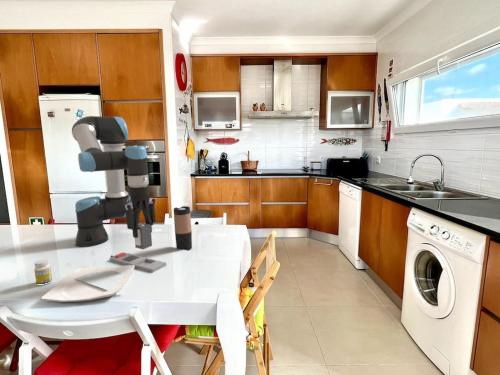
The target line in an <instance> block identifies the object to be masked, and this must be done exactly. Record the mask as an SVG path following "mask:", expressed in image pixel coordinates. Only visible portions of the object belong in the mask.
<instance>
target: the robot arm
mask: <svg viewBox="0 0 500 375" xmlns="http://www.w3.org/2000/svg"><path fill="white" fill-rule="evenodd" d="M71 135H72V137H73V139H74V140H75V141H76V142H77V145H78V147H79V150H80V153H78V155H77V160H78V165H79V170H80V171H81V172H82V173H83V172H84V173H87V172H89V173H94V172H104V171H105V175H106V176H105V177H106V187H107V192H106V193H105V194H104V198H101V196H90V197H85V198H81V199H79V200H77V201H76V202H75V206H74V207H75V211H74V212H75V215H76V222H77V223H76V224H77V233H76V237H75V240H74V241H75V246H77V247H81V246H82V247H93V246H97V245H101V244H103V243H106V242H107V241H109V234H108V232H107V230H106V228H105V226H104V221H108V220H110V221H111V220H115V219H116V220H117V219H123V218H125V219H126V228H127V229H128V230H132V237H133V238H134V245H139V246H140V245H141V236H140V229H138V225H139V224H140V216H141V212H142V214H143V215H142V216H143V218H144V223H145V224H150V225H151V233H152V232H153V225H155V224H154V223H155V222H156V209H155V208H156V207H155V205H156V199H155V198H150V196H149V195H150V194H151V193H150V186H149V169H148V153H147V148H146V146H144V145H135V146H134V145H128V146H125V148H124V149H125V150H123V147H124V145H126V141H128V139H129V130H128V126H127V123H126V121H125V119H124V118H122V117H121V116H101V115H99V116H98V115H97V116H96V115H95V116H94V115H87V116H84V117H82V118H80V119H78V120H77V121H75V122H74V124H73V125H72V128H71ZM101 146H103V149H102V147H101ZM125 170H126V173H127V174H126V175H127V186H129V187H128V191H126V184H125V172H124V171H125ZM82 247H81V248H82Z"/></svg>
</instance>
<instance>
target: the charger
mask: <svg viewBox="0 0 500 375" xmlns="http://www.w3.org/2000/svg"><path fill="white" fill-rule="evenodd" d="M138 229H140V236H141V245H140V246H139V245H135V244H134V245H135V248H136V249H139V250H145V249H148V248H150V247H152V246H153V242H152V241H153V240H152V232H151V225H150V224H146V222H144V223H143V222H141V223H139V225H138Z"/></svg>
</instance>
